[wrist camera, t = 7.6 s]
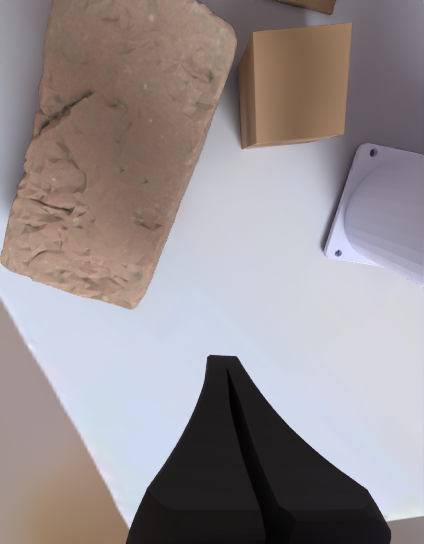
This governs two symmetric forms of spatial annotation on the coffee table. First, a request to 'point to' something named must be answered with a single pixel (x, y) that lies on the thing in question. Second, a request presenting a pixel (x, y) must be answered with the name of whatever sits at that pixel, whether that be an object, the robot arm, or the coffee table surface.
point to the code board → (314, 5)
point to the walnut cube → (294, 85)
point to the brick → (114, 141)
